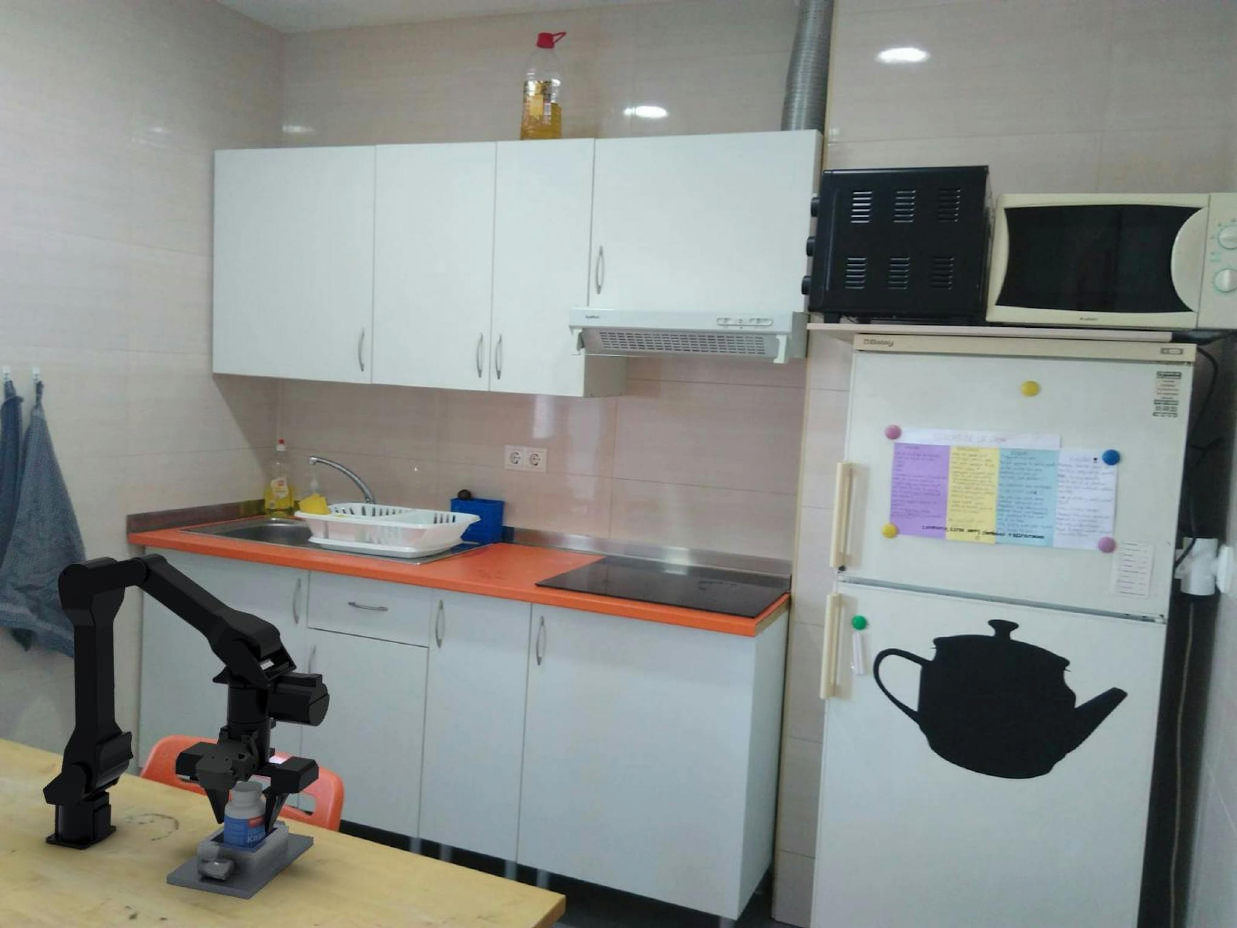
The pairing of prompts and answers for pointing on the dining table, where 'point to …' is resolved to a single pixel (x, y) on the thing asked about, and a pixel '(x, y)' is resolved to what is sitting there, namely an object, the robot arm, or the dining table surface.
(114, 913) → the dining table surface
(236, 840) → the pill bottle
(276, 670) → the robot arm
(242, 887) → the base
